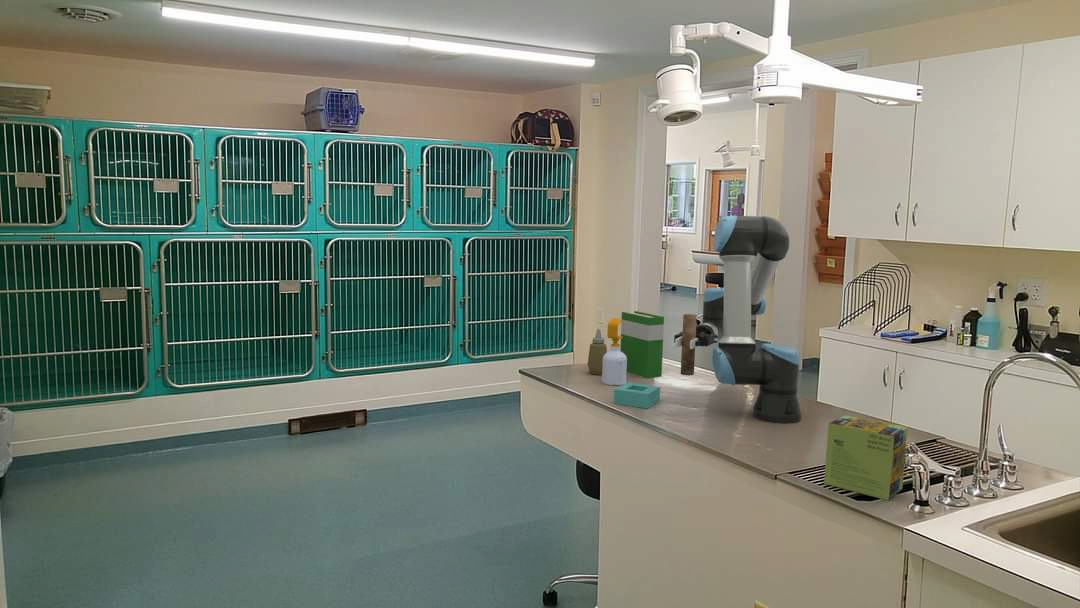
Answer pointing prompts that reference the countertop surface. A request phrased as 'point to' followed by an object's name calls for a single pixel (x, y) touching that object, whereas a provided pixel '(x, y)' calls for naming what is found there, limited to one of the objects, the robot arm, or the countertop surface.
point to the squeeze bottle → (596, 354)
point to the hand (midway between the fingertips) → (683, 344)
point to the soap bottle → (614, 358)
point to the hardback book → (642, 343)
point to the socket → (637, 395)
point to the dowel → (688, 344)
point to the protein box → (865, 456)
